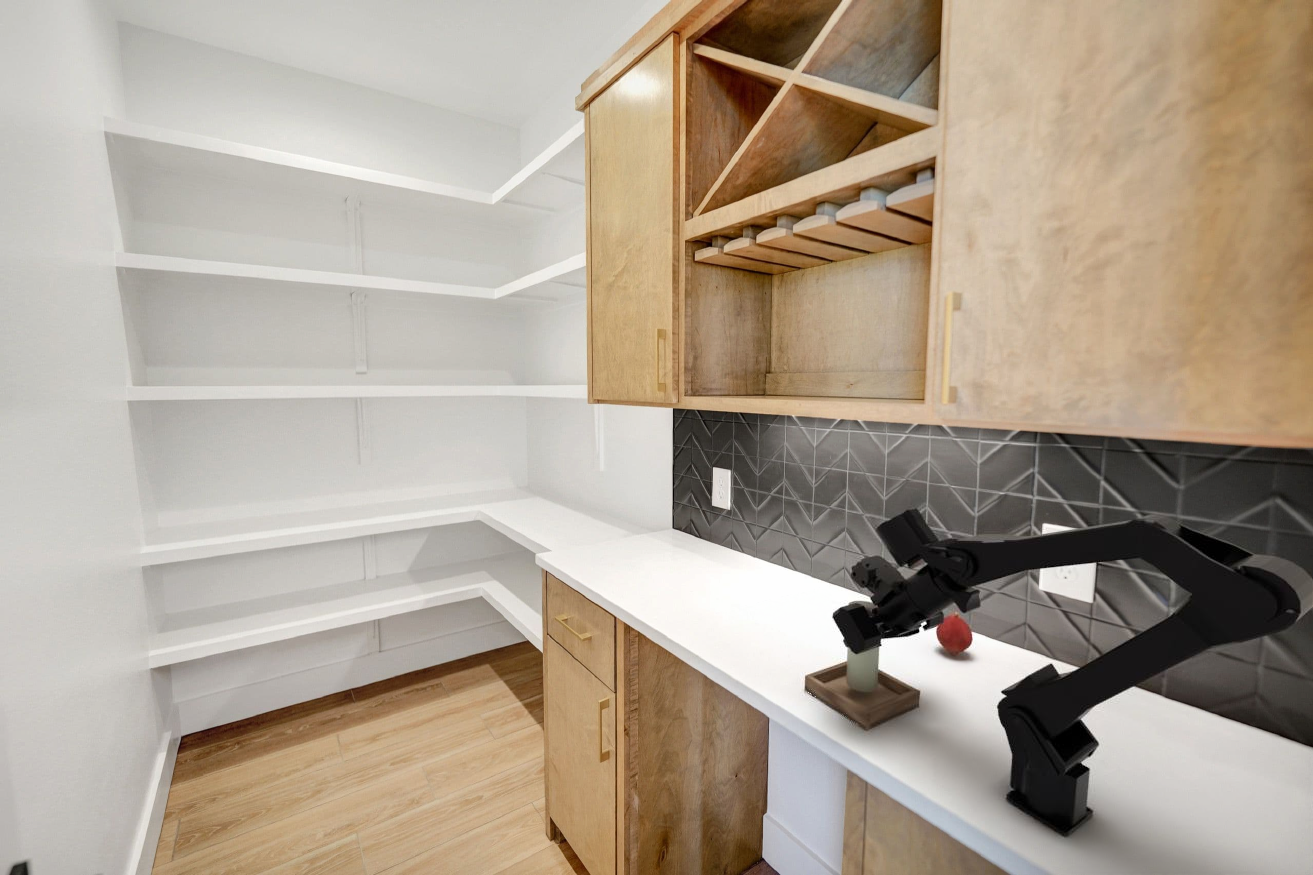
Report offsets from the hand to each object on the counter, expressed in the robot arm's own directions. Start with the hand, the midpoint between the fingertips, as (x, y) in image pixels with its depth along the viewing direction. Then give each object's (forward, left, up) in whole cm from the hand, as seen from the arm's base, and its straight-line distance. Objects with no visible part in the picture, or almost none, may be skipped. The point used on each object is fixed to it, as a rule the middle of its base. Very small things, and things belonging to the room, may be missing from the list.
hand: (856, 640), depth 88 cm
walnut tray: (-1, 0, -9) cm, 9 cm away
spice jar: (-1, 0, -7) cm, 7 cm away
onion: (0, -27, -9) cm, 28 cm away
